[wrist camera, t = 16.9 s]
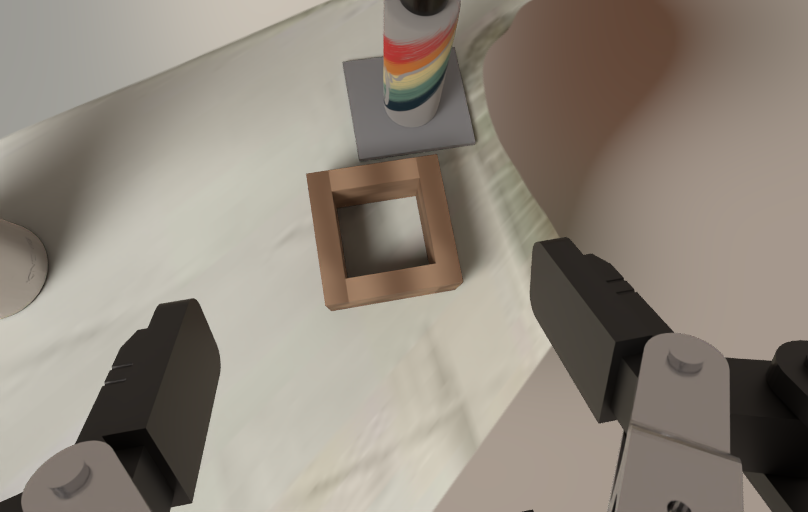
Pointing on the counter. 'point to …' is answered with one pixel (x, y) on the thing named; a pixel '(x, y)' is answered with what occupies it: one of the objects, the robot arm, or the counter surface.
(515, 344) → the counter surface
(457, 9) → the lotion bottle
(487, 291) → the counter surface
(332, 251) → the bottle holder
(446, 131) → the rubber mat
